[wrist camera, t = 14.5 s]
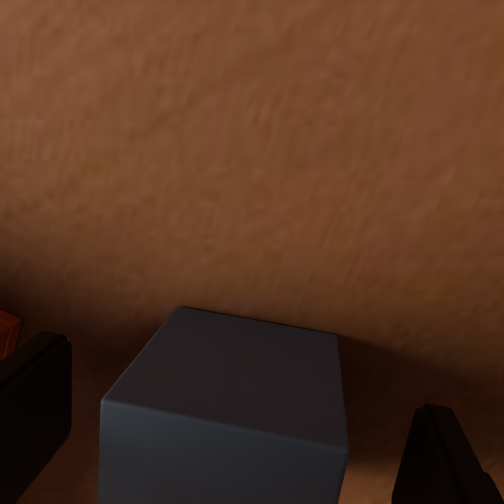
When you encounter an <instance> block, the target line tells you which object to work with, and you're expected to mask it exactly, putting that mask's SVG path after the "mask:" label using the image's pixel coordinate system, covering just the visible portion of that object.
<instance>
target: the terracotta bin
mask: <svg viewBox="0 0 504 504" xmlns="http://www.w3.org/2000/svg"><path fill="white" fill-rule="evenodd" d="M21 323H22V319H21V318H18V317H16V316H14V315H12V314H9V313H7V312H5V311H3V310H1V309H0V361H1V360H3V359H4V358H5V357H7V356H8V355H10V354H11V353H12V352H14V350H15V346H16V342H17V339H18V335H19V331H20V327H21Z"/></svg>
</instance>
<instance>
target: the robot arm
mask: <svg viewBox="0 0 504 504" xmlns="http://www.w3.org/2000/svg"><path fill="white" fill-rule="evenodd" d="M71 410H72V344H71V342H70V341H67V338H66V336H65V335H63V334H57V333H52V332H47V331H42V332H40V333H38V334H37V335H36V336H34V337H33V338H32V339H30V340H29V341H27V342H26V343H25V344H23V345H22V346H21V347H19V348H18V349H16V350H15V351H14V352H12V353H11V354H10V355H8V356H7V357H5V358H4V359H3V360H1V361H0V504H15V503H16V502H17V500H18V499H19V498H20V497H21V496H22V494H23V493H24V492H25V491H26V489H27V488H28V487H29V486H30V484H31V483H32V482H33V481H34V479H35V478H36V477H37V476H38V474H39V473H40V472H41V471H42V469H43V468H44V467H45V466H46V465H47V463H48V462H49V461H50V460H51V458H52V457H53V456H54V455H55V453H56V452H57V451H58V450H59V448H60V447H61V446H62V445H63V443H64V442H65V441H66V439H67V438H68V436H69V433H70V430H71ZM391 504H504V501H503V499H502V497H501V495H500V493H499V491H498V489H497V487H496V485H495V483H494V481H493V480H492V478H491V477H490V475H489V474H488V473H486V472H484V471H483V470H482V468H481V466H480V464H479V462H478V460H477V458H476V456H475V454H474V452H473V450H472V448H471V446H470V444H469V442H468V440H467V438H466V436H465V434H464V432H463V430H462V428H461V426H460V424H459V422H458V420H457V418H456V416H455V414H454V412H453V410H452V409H451V408H449V407H444V406H439V405H433V404H428V403H427V404H425V405H424V407H423V409H422V408H417V409H416V410H415V413H414V416H413V420H412V424H411V427H410V431H409V435H408V438H407V442H406V445H405V449H404V453H403V456H402V460H401V464H400V467H399V471H398V475H397V478H396V482H395V485H394V489H393V493H392V501H391Z"/></svg>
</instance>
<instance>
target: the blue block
mask: <svg viewBox="0 0 504 504" xmlns="http://www.w3.org/2000/svg"><path fill="white" fill-rule="evenodd" d="M349 453H350V451H349V442H348V433H347V423H346V414H345V404H344V395H343V385H342V376H341V367H340V357H339V348H338V338H337V336H336V335H334V334H329V333H323V332H318V331H312V330H307V329H301V328H296V327H290V326H284V325H279V324H273V323H268V322H262V321H257V320H251V319H246V318H240V317H234V316H229V315H223V314H218V313H212V312H207V311H201V310H195V309H190V308H184V307H176V308H175V310H174V311H173V312H172V313H171V314H170V316H169V317H168V318H167V319H166V321H165V322H164V323H163V324H162V326H161V327H160V328H159V329H158V330H157V332H156V333H155V334H154V335H153V337H152V338H151V339H150V340H149V342H148V343H147V344H146V345H145V346H144V348H143V349H142V350H141V351H140V353H139V354H138V355H137V356H136V357H135V359H134V360H133V361H132V362H131V364H130V365H129V366H128V367H127V369H126V370H125V371H124V372H123V373H122V375H121V376H120V377H119V378H118V380H117V381H116V382H115V383H114V385H113V386H112V387H111V388H110V389H109V391H108V392H107V393H106V394H105V396H104V397H103V398H102V400H101V410H100V440H99V471H98V501H97V504H338V500H339V496H340V492H341V487H342V483H343V479H344V474H345V470H346V466H347V461H348V457H349Z"/></svg>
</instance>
